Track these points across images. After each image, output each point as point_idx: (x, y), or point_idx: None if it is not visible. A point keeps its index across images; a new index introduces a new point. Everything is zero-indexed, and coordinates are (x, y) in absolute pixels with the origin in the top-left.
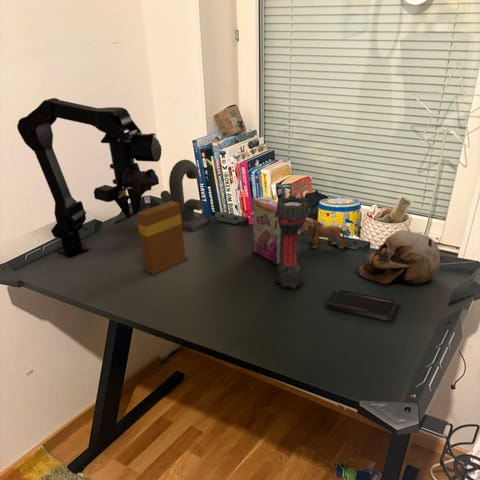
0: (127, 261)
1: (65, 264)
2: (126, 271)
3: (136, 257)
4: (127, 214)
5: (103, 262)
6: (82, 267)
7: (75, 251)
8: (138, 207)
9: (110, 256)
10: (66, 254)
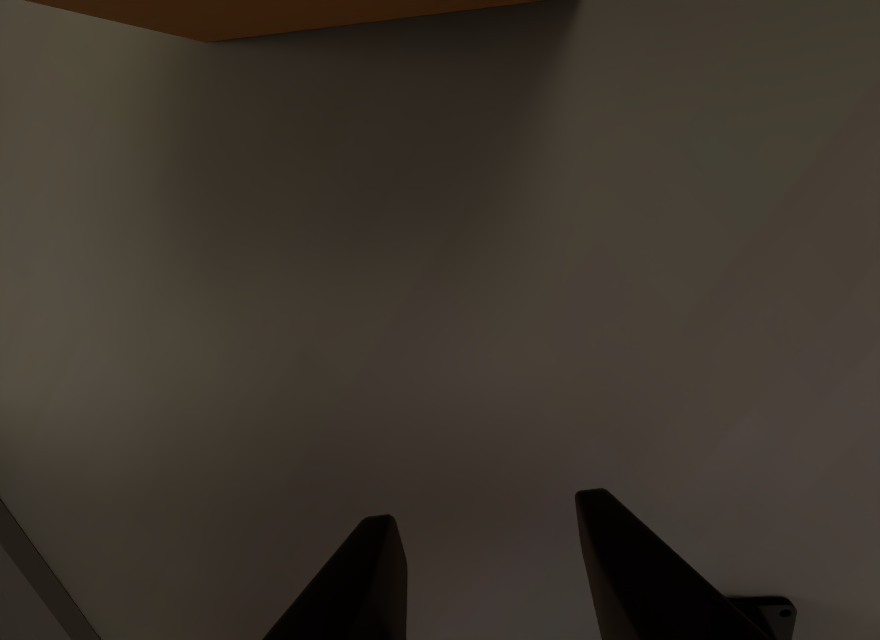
0: (574, 281)
1: (875, 539)
2: (700, 121)
3: (483, 291)
4: (659, 548)
5: (702, 394)
6: (847, 429)
7: (761, 616)
8: (295, 628)
9: (605, 439)
10: (792, 631)
